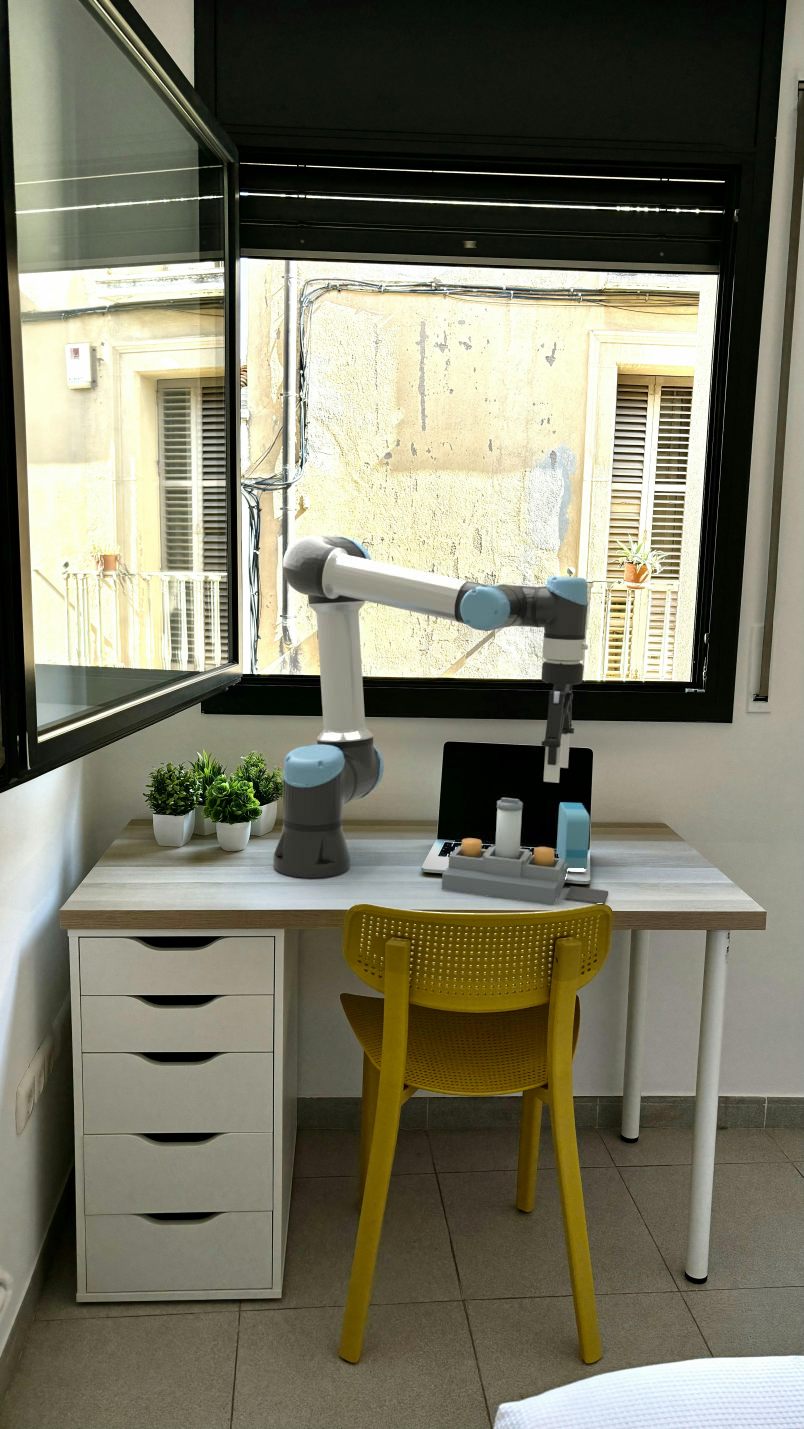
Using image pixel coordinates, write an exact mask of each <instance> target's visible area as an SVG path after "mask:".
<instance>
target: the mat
mask: <svg viewBox="0 0 804 1429" xmlns="http://www.w3.org/2000/svg"><path fill="white" fill-rule="evenodd" d="M608 893H609V891H608V890H606V889H605V890H604V889H603V890H602V889H595V888H588V887H580V886H572V885H570V886H569V889H568V891H567V894H566V895H565V897H564V901H572V902H579V903H584V904H585V903H586V904H593V905H598V904H597V903H603V904H604V905H605V902H606V900H607V897H608Z"/></svg>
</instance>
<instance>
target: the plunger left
mask: <svg viewBox="0 0 804 1429" xmlns="http://www.w3.org/2000/svg"><path fill="white" fill-rule="evenodd" d="M482 845H483V842H482V840H481V839H479V838H472V837H467V838H463V839H462V840H461V846H462V852H461V853H462V854H463V855H465V856H470V857H476V856H480V855H481V849H483V848H482Z"/></svg>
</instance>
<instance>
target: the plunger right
mask: <svg viewBox="0 0 804 1429" xmlns="http://www.w3.org/2000/svg"><path fill="white" fill-rule="evenodd" d="M533 855H534V861H533V862H534V863H535V864H537V865H541V866H550V865H553V864H554V858H555V849H554V848H552V847H547V846H538V847H534V848H533Z"/></svg>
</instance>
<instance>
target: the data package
mask: <svg viewBox="0 0 804 1429" xmlns="http://www.w3.org/2000/svg"><path fill="white" fill-rule="evenodd" d="M590 819H591V818H590V814H589V813H588V811H587V809H586V808H585V806H584V805H583V803H582V802H561V801H560V803H559V806H558V820H557V840H556V855H557V854H558V857H559V859H565V863H567V864H568V868H584V869H586V868H587V869H588V858H589V857H588V855H589V839H590V824H591V823H590V822H591V821H590Z"/></svg>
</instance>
